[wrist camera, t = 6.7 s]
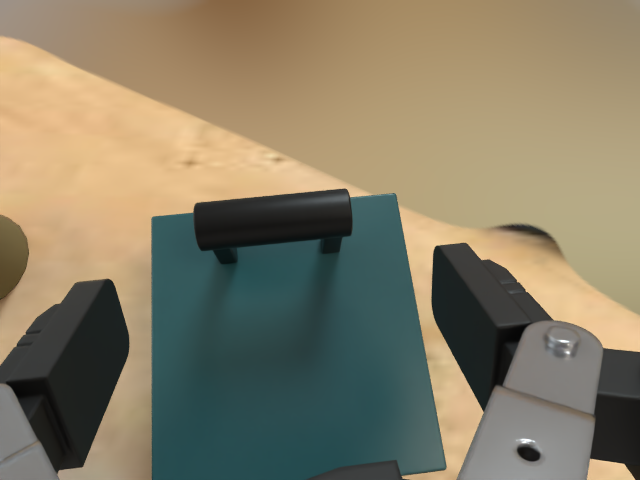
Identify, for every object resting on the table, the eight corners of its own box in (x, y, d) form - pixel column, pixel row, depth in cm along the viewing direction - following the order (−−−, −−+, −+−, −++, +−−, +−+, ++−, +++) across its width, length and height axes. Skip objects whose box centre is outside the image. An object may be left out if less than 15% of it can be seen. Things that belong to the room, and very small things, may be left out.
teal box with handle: (156, 223, 20) (112, 168, 16) (393, 200, 21) (416, 140, 16) (158, 505, 17) (102, 539, 12) (441, 467, 17) (489, 487, 13)
